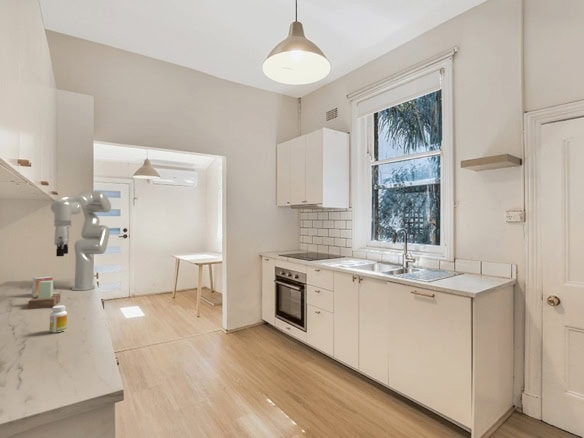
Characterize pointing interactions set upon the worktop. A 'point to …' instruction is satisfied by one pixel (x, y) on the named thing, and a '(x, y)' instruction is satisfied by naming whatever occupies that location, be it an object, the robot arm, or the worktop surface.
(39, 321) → the worktop surface
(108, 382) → the worktop surface
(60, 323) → the supplement bottle
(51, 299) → the walnut base
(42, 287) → the sage block
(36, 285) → the small box
